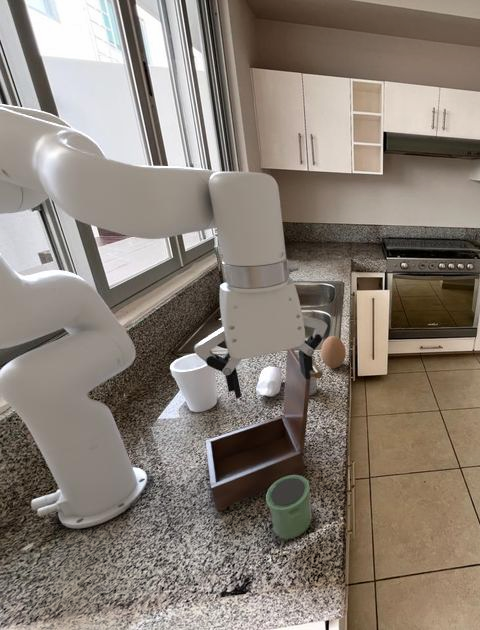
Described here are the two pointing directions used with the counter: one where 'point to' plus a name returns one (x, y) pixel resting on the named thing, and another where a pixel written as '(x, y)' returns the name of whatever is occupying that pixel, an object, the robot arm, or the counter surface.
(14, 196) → the robot arm
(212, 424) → the counter surface
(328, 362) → the egg
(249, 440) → the chest
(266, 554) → the counter surface
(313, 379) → the energy drink
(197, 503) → the counter surface
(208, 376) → the foam cup
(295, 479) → the pot
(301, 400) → the lid
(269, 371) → the roll
